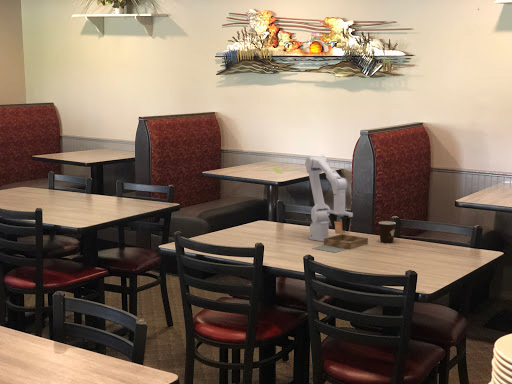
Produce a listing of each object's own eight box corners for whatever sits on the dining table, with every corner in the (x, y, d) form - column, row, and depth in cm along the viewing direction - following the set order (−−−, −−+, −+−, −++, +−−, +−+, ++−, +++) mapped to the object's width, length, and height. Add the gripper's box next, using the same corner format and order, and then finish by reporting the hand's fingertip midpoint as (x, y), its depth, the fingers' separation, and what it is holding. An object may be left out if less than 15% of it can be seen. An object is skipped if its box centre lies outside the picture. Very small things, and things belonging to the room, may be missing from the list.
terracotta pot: (332, 233, 340) (331, 221, 339) (338, 230, 344) (338, 219, 343) (341, 234, 336) (341, 222, 335) (348, 232, 340) (347, 220, 339)
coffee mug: (382, 244, 344) (383, 224, 343) (375, 240, 352) (375, 221, 351) (403, 242, 347) (404, 223, 346) (395, 239, 355) (396, 220, 354)
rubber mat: (312, 248, 336) (312, 248, 336) (322, 245, 342) (322, 245, 342) (335, 252, 326) (335, 252, 326) (346, 249, 333) (346, 249, 333)
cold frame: (323, 244, 344) (323, 238, 344) (341, 239, 356) (341, 233, 356) (350, 249, 334) (350, 243, 333) (367, 243, 346) (367, 237, 345)
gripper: (322, 202, 339) (322, 229, 341) (347, 205, 330) (347, 232, 332) (331, 200, 345) (330, 227, 346) (355, 203, 335) (355, 230, 337)
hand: (339, 229), depth 339 cm, fingers closed on terracotta pot, 5 cm apart
